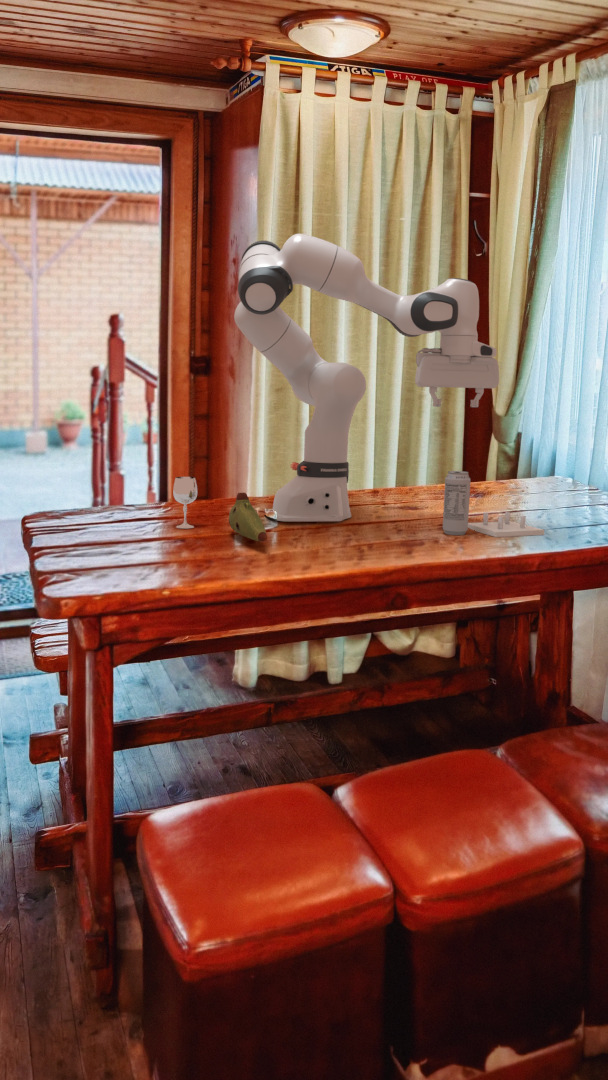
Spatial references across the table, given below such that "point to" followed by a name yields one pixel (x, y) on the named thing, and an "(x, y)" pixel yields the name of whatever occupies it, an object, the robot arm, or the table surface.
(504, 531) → the grey peg board
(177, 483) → the wineglass
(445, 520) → the energy drink can
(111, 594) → the table surface
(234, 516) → the green banana
